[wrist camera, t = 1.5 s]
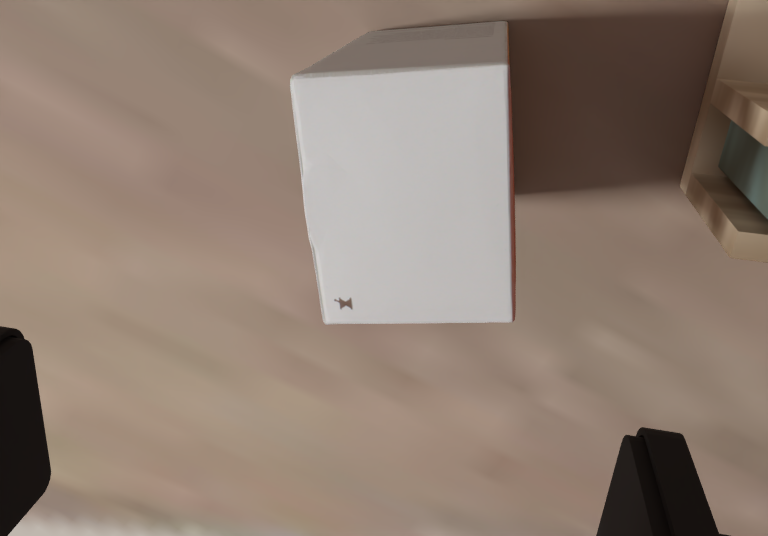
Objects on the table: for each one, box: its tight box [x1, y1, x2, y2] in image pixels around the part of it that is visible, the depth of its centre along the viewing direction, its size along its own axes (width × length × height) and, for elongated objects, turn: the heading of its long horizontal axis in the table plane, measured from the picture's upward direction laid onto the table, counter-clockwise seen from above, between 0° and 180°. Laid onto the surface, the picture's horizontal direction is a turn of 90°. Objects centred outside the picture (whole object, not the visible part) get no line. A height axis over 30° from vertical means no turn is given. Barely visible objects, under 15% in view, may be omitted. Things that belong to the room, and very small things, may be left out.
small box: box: [290, 21, 516, 325], centre depth 27 cm, size 8×6×13 cm
